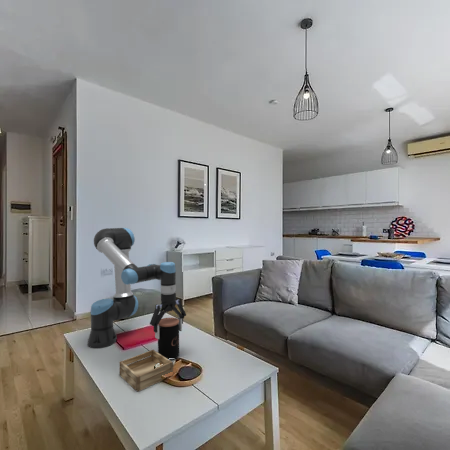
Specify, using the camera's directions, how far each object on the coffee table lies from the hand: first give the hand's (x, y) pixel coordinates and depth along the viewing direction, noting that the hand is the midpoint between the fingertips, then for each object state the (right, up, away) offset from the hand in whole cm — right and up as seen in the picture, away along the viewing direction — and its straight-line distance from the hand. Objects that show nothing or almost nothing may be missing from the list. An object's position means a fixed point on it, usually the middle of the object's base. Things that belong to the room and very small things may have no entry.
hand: (169, 334), depth 142 cm
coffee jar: (0, -11, 0) cm, 11 cm away
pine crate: (-7, -12, -17) cm, 22 cm away
